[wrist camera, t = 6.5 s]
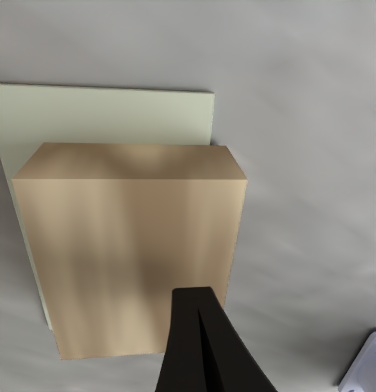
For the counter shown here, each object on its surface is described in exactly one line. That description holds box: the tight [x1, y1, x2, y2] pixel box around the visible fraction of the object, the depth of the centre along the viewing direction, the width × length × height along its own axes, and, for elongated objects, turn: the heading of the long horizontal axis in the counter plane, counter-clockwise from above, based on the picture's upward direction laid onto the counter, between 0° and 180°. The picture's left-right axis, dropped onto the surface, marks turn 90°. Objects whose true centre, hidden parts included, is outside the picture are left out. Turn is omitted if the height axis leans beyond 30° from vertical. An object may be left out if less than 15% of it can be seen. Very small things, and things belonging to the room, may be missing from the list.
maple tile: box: [11, 142, 248, 360], centre depth 12 cm, size 3×9×7 cm
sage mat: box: [0, 83, 215, 330], centre depth 14 cm, size 8×13×1 cm, turn 177°
